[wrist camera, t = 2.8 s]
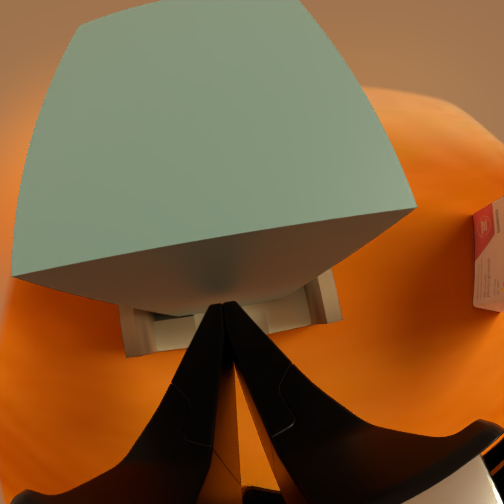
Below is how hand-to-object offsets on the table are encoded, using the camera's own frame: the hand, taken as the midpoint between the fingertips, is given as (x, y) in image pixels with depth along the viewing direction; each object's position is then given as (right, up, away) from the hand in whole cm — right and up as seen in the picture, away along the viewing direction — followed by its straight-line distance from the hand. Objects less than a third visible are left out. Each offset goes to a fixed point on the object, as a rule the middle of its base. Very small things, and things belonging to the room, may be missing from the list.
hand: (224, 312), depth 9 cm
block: (-1, +2, +8) cm, 8 cm away
